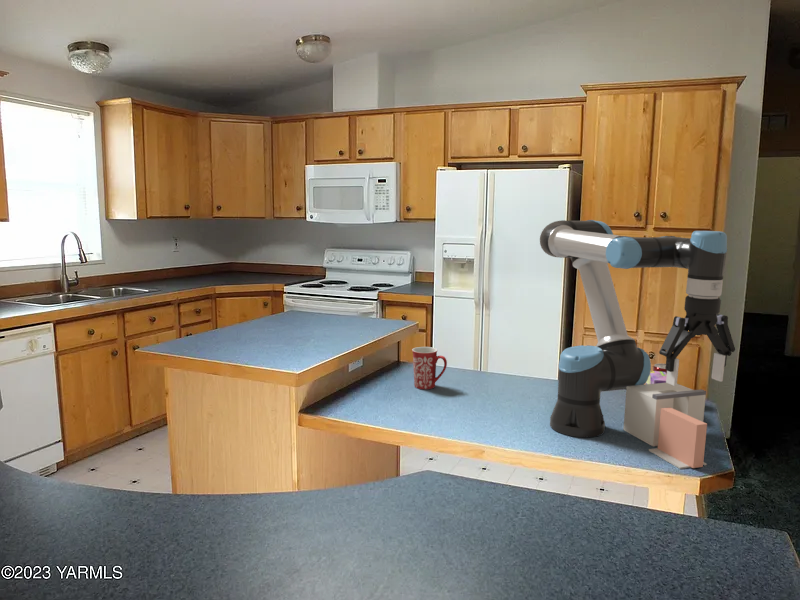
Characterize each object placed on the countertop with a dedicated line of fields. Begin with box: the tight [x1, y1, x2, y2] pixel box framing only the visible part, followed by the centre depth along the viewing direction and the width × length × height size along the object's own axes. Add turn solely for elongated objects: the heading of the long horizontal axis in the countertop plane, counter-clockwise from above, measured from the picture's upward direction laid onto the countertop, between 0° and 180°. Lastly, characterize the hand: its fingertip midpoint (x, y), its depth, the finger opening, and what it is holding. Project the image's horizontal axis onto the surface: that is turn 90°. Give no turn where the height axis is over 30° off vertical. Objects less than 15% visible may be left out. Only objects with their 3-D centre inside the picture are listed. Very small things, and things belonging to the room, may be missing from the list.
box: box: [645, 370, 667, 384], centre depth 177 cm, size 10×6×12 cm, turn 168°
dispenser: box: [623, 383, 707, 447], centre depth 158 cm, size 16×12×14 cm
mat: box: [648, 447, 707, 470], centre depth 144 cm, size 8×11×1 cm
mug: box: [411, 346, 448, 390], centre depth 199 cm, size 13×9×14 cm
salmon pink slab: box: [657, 407, 708, 469], centre depth 143 cm, size 3×12×11 cm, turn 17°
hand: (694, 382), depth 138 cm, fingers open, 13 cm apart
